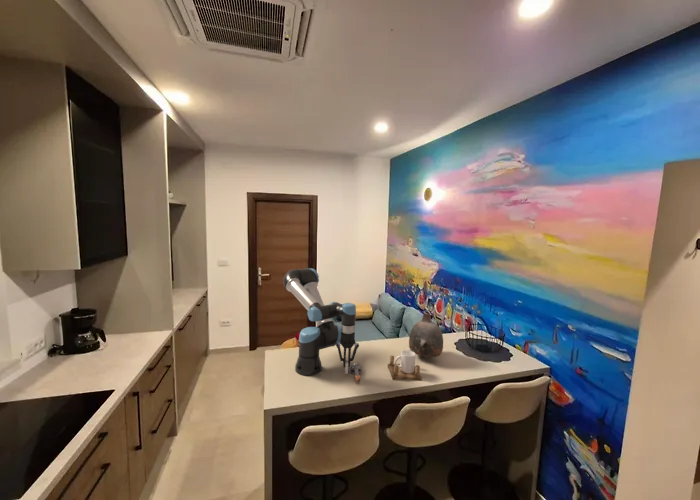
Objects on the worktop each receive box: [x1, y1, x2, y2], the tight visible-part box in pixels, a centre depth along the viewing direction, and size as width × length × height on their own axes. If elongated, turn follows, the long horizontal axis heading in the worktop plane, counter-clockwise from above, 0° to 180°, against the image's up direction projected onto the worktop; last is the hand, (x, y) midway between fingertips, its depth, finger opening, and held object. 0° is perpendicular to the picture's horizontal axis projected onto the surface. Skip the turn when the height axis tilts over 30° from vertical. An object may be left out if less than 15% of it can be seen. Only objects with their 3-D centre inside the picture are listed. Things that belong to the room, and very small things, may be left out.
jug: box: [408, 311, 444, 358], centre depth 197 cm, size 24×21×30 cm
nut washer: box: [348, 368, 362, 375], centre depth 175 cm, size 7×7×1 cm
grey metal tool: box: [349, 362, 362, 383], centre depth 170 cm, size 6×17×4 cm, turn 3°
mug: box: [394, 349, 416, 373], centre depth 176 cm, size 12×8×10 cm
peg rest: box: [387, 354, 422, 381], centre depth 176 cm, size 16×16×7 cm
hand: (346, 372), depth 170 cm, fingers closed
